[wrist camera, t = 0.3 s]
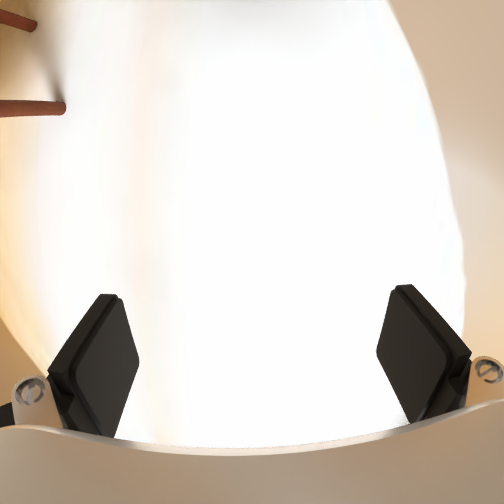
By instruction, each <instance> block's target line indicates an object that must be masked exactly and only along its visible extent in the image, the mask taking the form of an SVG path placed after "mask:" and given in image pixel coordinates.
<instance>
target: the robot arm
mask: <svg viewBox="0 0 504 504" xmlns="http://www.w3.org/2000/svg"><path fill="white" fill-rule="evenodd" d="M376 353H377V358H378V360H379V362H380V364H381V365H382V367H383V369H384V371H385V373H386V375H387V377H388V379H389V381H390V383H391V385H392V387H393V390H394V392H395V394H396V396H397V398H398V400H399V402H400V404H401V406H402V408H403V410H404V412H405V415H406V417H407V419H408V421H409V423H410V424H408V425H405V426H401V427H397V428H393V429H389V430H385V431H381V432H376V433H372V434H367V435H362V436H357V437H351V438H345V439H339V440H333V441H326V442H319V443H311V444H302V445H292V446H279V447H263V448H198V447H181V446H169V445H159V444H150V443H142V442H135V441H128V440H121V439H115V438H114V436H115V434H116V430H117V427H118V424H119V421H120V418H121V415H122V412H123V409H124V406H125V403H126V401H127V398H128V395H129V392H130V389H131V386H132V383H133V381H134V378H135V375H136V372H137V370H138V367H139V356H138V353H137V350H136V347H135V343H134V340H133V337H132V333H131V330H130V326H129V323H128V319H127V315H126V312H125V308H124V304H123V301H122V299H120V298H118V297H117V295H116V294H100V295H99V296H98V298H97V299H96V300H95V302H94V303H93V304H92V306H91V307H90V308H89V310H88V311H87V312H86V314H85V315H84V317H83V318H82V319H81V321H80V322H79V324H78V325H77V327H76V328H75V329H74V331H73V332H72V334H71V335H70V337H69V338H68V340H67V341H66V342H65V344H64V345H63V347H62V348H61V350H60V351H59V353H58V354H57V356H56V358H55V359H54V361H53V362H52V364H51V365H50V367H49V368H48V370H47V371H48V373H49V375H48V377H47V378H45V377H43V376H40V375H30V376H27V377H25V378H23V379H21V380H20V381H19V382H18V383H17V384H16V385H15V386H14V388H13V390H12V393H11V400H12V402H10V403H8V404H5V405H3V406H0V504H504V366H503V365H502V364H501V363H500V362H498V361H497V360H496V359H493V358H491V357H487V356H482V357H477V358H476V359H474V360H473V361H471V360H470V359H469V358H470V356H471V354H472V352H471V351H470V350H469V348H468V347H467V346H466V345H465V343H464V342H463V341H462V340H461V339H460V337H459V336H458V335H457V334H456V333H455V331H454V330H453V329H452V328H451V327H450V326H449V324H448V323H447V322H446V321H445V320H444V319H443V318H442V316H441V315H440V314H439V313H438V312H437V311H436V310H435V309H434V307H433V306H432V305H431V304H430V303H429V302H428V301H427V300H426V299H425V298H424V297H423V295H422V294H421V293H420V292H419V291H418V290H417V289H416V288H415V287H414V286H413V285H412V284H407V285H397V286H396V287H395V289H394V290H392V291H391V294H390V298H389V302H388V306H387V311H386V315H385V319H384V323H383V327H382V330H381V334H380V338H379V342H378V345H377V349H376Z"/></svg>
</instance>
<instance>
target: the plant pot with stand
mask: <svg viewBox="0 0 504 504" xmlns="http://www.w3.org/2000/svg"><path fill="white" fill-rule="evenodd" d="M0 23H2V24H5V25H9V26H12V27H16V28H19V29H22V30H25V31H28V32H32V31H34V30H35V28H36V26H37V22H35V21H33V20H30V19H27V18H25V17H22V16H19V15H16V14H13V13H10V12H7V11H4V10H1V9H0ZM65 111H66V105H65V103H63V102H51V101H30V100H0V118H1V117H16V116H45V115H63V114H64V113H65Z"/></svg>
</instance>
